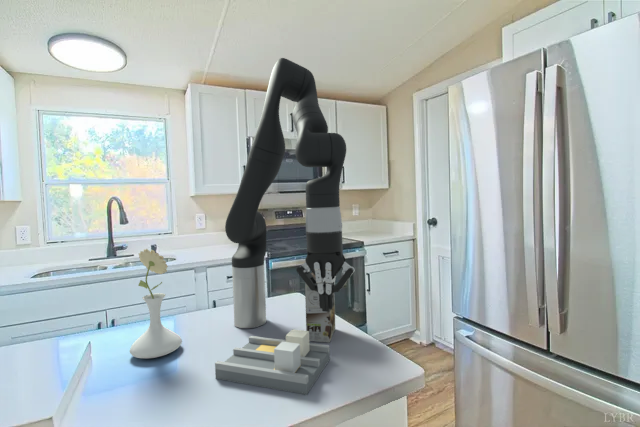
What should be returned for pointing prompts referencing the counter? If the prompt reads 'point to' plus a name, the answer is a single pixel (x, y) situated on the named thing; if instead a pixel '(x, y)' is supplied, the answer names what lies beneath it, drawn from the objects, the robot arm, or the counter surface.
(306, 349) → the cream cube
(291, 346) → the pale grey cube
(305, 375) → the grey ridged tray
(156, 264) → the flower in vase
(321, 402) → the counter surface
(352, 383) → the counter surface
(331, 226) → the robot arm
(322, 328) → the coffee box
